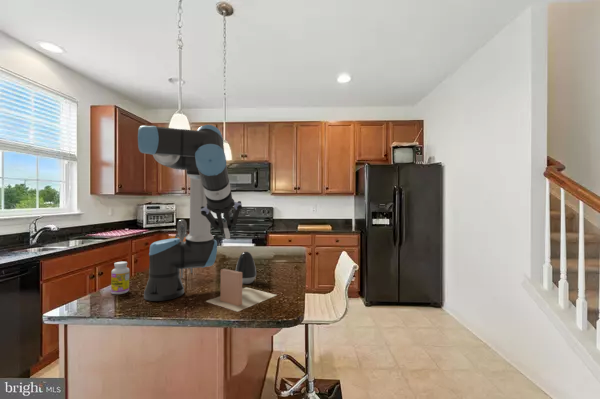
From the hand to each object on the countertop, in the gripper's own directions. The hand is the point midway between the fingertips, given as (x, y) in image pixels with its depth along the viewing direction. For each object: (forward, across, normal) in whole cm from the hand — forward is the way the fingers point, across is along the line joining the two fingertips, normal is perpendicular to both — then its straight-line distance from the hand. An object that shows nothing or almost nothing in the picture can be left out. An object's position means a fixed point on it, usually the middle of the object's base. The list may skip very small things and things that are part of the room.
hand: (227, 235), depth 101 cm
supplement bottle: (+37, -50, +5) cm, 62 cm away
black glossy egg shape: (+45, +3, +2) cm, 45 cm away
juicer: (+57, -31, +18) cm, 68 cm away
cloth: (+26, +1, -14) cm, 30 cm away
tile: (+22, -3, -16) cm, 27 cm away
